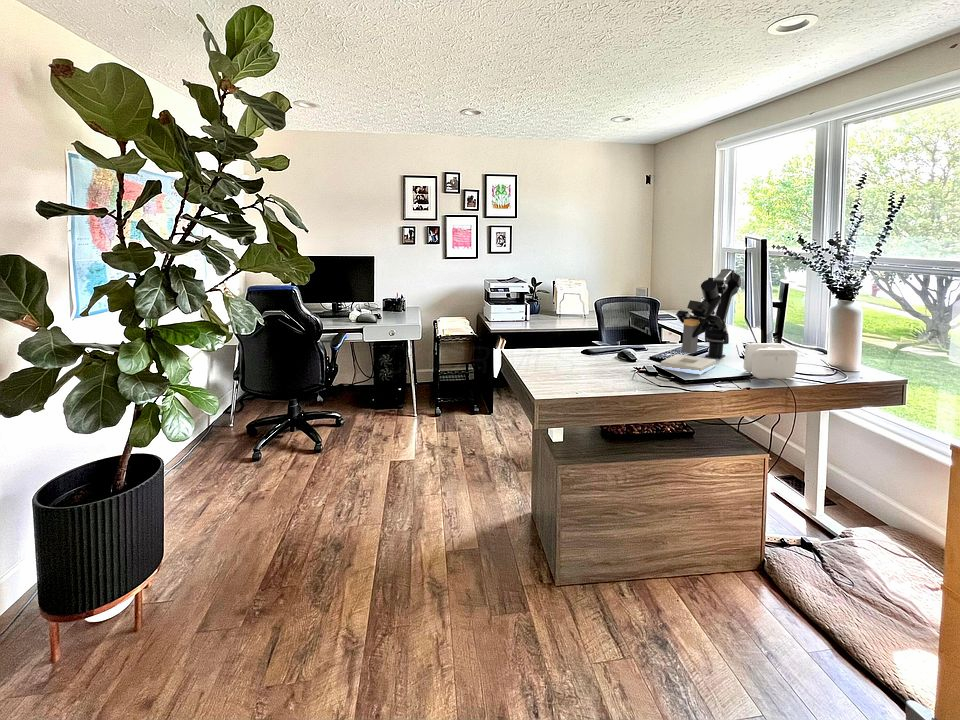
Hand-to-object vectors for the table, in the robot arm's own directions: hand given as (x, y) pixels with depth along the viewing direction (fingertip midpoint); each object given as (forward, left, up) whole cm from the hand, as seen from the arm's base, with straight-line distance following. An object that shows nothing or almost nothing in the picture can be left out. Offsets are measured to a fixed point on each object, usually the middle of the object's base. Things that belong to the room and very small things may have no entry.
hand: (688, 336), depth 221 cm
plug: (-1, 0, -7) cm, 7 cm away
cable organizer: (-8, +28, -13) cm, 33 cm away
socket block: (-1, 0, -13) cm, 13 cm away
